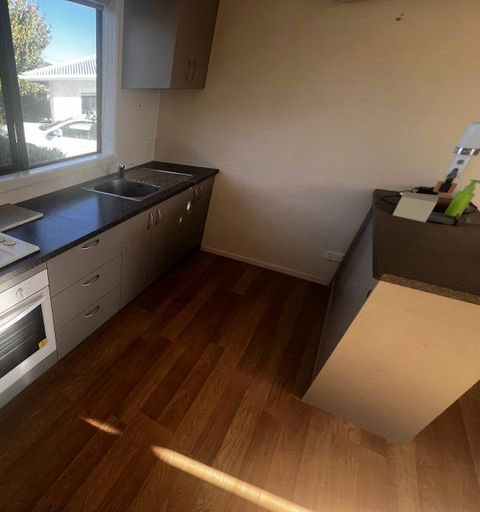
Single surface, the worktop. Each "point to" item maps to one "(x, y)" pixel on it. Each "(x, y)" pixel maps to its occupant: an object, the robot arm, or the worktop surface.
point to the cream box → (415, 206)
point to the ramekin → (440, 186)
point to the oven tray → (447, 218)
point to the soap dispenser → (461, 200)
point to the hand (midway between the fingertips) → (443, 190)
